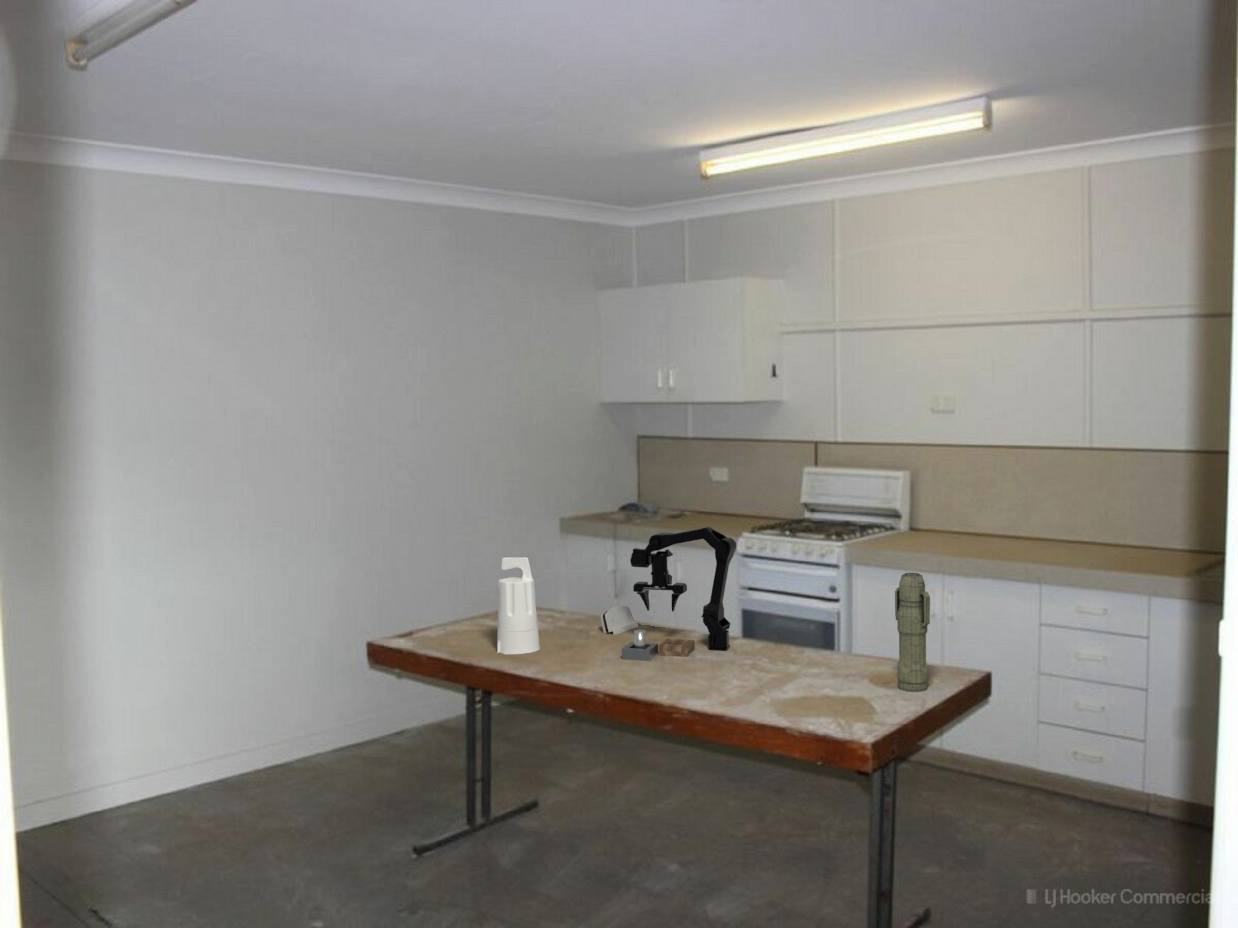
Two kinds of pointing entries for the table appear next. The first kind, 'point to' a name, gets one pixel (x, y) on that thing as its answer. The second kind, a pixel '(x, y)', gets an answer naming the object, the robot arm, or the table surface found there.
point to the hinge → (617, 620)
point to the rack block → (640, 652)
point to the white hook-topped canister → (517, 610)
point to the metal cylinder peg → (640, 639)
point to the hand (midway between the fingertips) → (660, 610)
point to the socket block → (676, 647)
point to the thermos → (912, 632)
